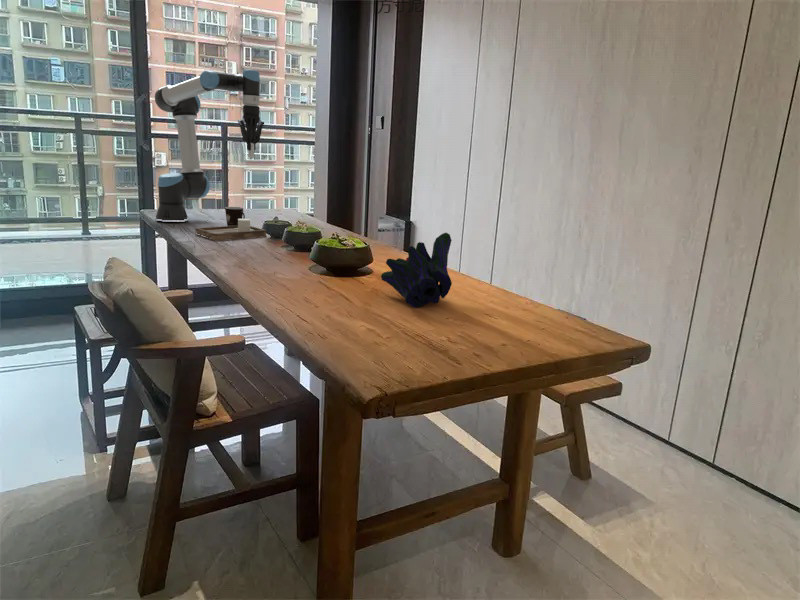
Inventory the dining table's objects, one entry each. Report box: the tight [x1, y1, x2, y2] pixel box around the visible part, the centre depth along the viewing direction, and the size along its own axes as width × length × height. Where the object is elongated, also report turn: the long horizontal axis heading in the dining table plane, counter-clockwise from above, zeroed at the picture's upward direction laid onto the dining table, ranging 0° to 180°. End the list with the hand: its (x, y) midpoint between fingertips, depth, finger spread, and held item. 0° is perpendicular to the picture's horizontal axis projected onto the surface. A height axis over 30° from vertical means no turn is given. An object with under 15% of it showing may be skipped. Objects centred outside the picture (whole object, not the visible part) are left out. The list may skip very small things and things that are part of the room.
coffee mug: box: [224, 206, 246, 226], centre depth 300 cm, size 12×9×10 cm
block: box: [238, 218, 251, 231], centre depth 287 cm, size 5×5×5 cm
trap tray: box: [195, 225, 267, 241], centre depth 283 cm, size 17×26×3 cm, turn 135°
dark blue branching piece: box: [380, 232, 453, 309], centre depth 196 cm, size 21×26×30 cm
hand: (251, 157), depth 293 cm, fingers closed
